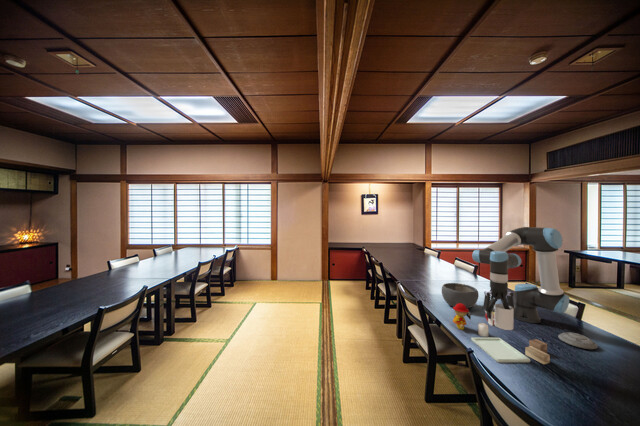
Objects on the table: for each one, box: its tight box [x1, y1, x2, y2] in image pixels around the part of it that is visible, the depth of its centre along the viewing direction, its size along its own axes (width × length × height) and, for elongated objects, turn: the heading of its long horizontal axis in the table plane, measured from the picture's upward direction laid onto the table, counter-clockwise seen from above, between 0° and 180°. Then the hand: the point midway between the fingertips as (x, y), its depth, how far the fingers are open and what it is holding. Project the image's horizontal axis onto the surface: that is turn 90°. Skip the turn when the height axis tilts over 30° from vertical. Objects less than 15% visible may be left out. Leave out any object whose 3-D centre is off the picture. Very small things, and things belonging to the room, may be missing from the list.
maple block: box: [524, 345, 551, 365], centre depth 119 cm, size 4×8×4 cm, turn 17°
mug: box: [484, 303, 514, 331], centre depth 126 cm, size 12×8×10 cm, turn 62°
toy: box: [452, 303, 472, 331], centre depth 151 cm, size 11×9×15 cm
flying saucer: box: [557, 331, 598, 350], centre depth 133 cm, size 15×15×6 cm
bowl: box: [441, 282, 480, 309], centre depth 185 cm, size 24×24×15 cm
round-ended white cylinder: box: [477, 322, 489, 338], centre depth 142 cm, size 5×5×6 cm
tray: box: [470, 337, 531, 363], centre depth 126 cm, size 16×20×2 cm
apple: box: [484, 310, 495, 326], centre depth 156 cm, size 8×8×10 cm
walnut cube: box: [528, 338, 548, 354], centre depth 125 cm, size 5×5×5 cm
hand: (498, 324), depth 126 cm, fingers closed on mug, 7 cm apart
